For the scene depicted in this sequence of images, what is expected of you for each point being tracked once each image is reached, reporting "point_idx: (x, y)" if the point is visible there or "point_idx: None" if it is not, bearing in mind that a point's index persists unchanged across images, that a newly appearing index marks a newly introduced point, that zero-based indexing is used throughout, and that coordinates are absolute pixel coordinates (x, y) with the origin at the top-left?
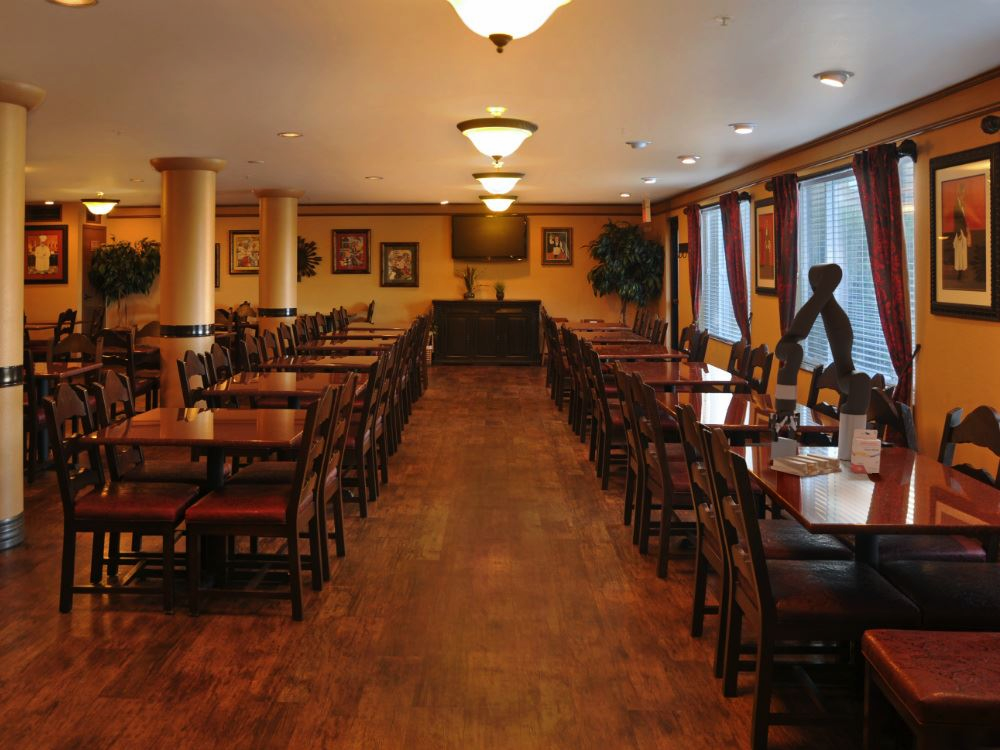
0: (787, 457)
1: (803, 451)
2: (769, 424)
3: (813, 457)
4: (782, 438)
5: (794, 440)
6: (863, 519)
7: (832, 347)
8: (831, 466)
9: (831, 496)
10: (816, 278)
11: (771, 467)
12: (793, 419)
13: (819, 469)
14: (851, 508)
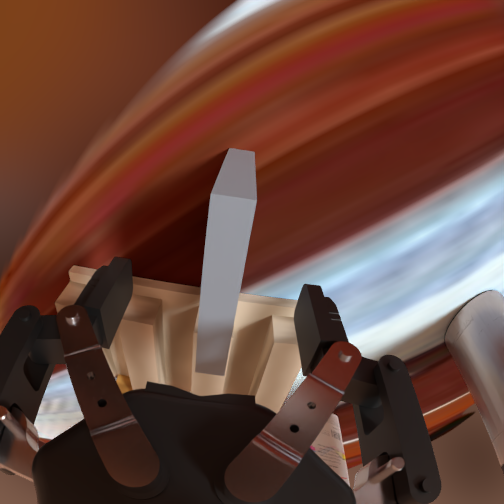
0: (119, 328)
1: None
2: (6, 349)
3: (220, 380)
4: (201, 302)
5: (208, 371)
6: (39, 436)
7: None
8: (250, 391)
9: (55, 416)
10: None
11: (71, 271)
12: (389, 435)
13: (187, 381)
14: (48, 431)
